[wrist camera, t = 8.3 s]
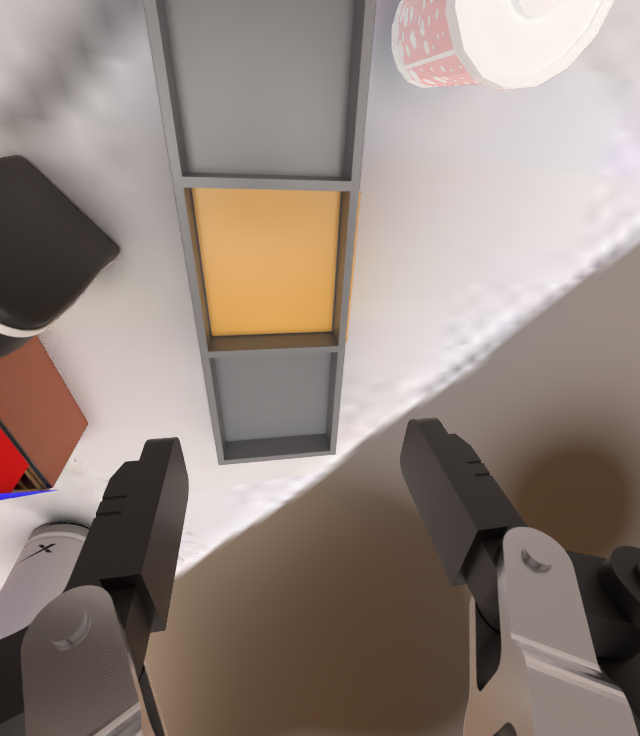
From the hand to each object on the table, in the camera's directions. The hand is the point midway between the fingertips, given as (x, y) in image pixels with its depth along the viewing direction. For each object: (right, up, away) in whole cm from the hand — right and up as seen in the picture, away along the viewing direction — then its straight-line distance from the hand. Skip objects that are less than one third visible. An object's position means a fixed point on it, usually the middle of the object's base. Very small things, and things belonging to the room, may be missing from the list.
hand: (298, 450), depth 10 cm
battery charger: (-15, +11, +11) cm, 22 cm away
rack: (-3, +10, +14) cm, 17 cm away
